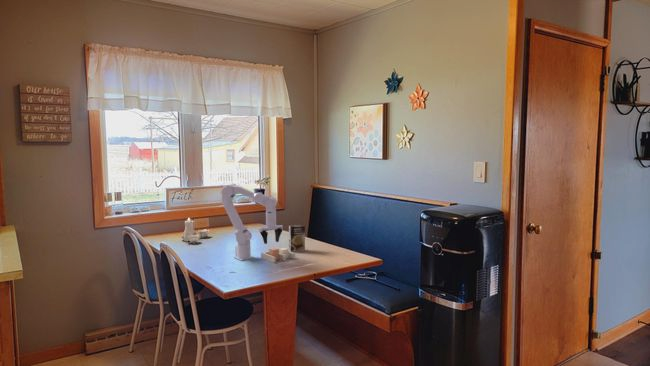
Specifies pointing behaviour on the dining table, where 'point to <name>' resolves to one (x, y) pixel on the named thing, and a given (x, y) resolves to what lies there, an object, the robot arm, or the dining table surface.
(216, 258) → the dining table surface
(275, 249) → the terracotta block
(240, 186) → the robot arm
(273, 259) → the slot rack
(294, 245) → the coffee box
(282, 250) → the cream block
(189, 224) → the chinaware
